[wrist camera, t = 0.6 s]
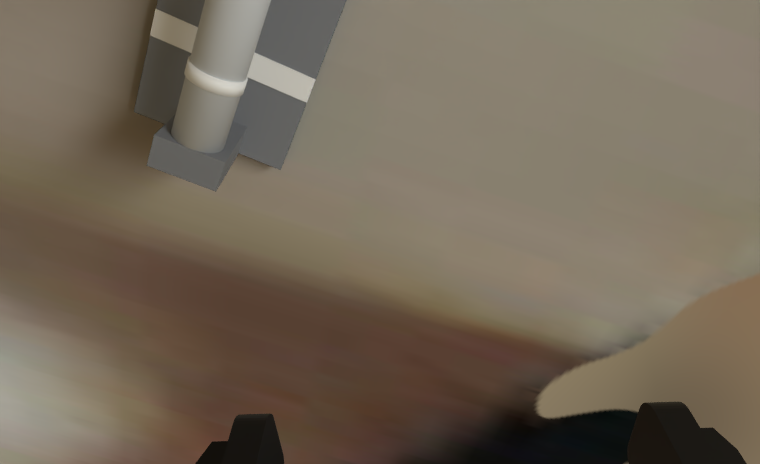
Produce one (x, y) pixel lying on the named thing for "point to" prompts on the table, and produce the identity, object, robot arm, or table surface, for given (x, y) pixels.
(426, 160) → the table surface
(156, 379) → the table surface
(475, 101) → the table surface
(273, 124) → the pipe rail
